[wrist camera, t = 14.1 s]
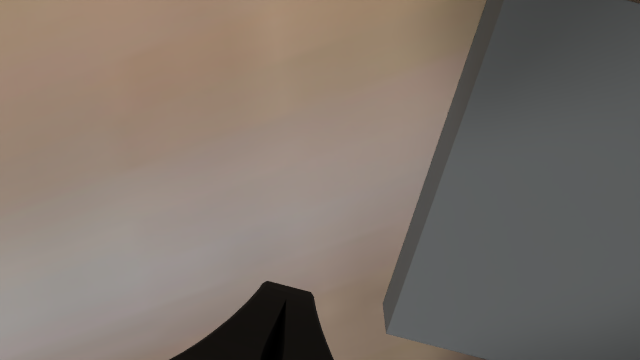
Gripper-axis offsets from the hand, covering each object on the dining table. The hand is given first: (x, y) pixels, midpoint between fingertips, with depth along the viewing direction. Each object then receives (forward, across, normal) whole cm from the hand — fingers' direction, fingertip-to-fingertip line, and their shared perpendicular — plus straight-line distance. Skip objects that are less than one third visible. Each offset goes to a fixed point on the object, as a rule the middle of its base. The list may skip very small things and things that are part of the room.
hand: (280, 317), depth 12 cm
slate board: (+10, -11, -3) cm, 15 cm away
